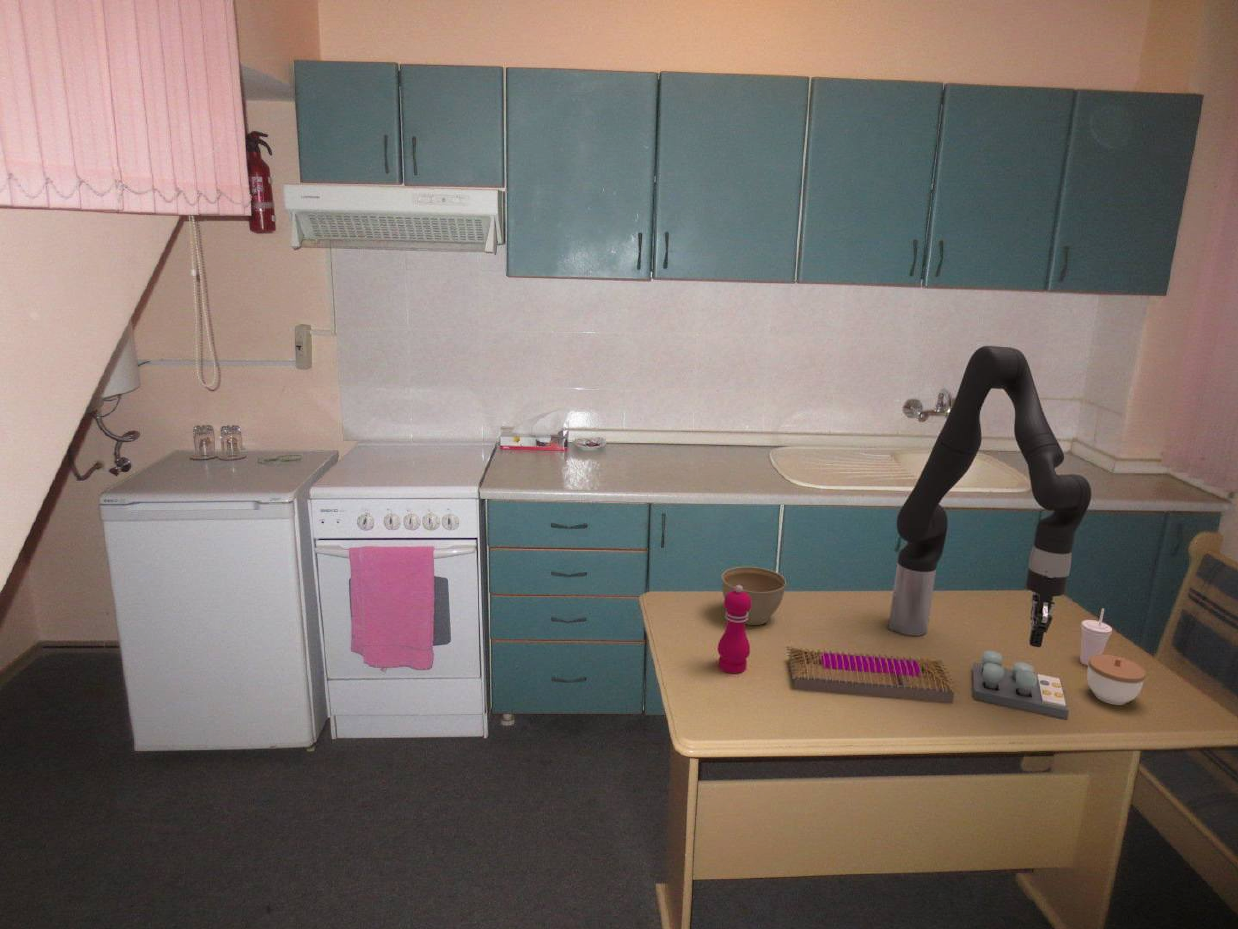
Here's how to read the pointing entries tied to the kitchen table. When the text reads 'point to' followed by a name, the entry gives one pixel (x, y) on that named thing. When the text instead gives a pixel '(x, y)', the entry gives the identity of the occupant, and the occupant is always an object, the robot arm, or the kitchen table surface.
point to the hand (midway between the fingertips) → (1034, 645)
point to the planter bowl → (756, 590)
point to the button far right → (1021, 668)
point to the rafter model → (872, 666)
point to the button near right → (1025, 682)
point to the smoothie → (1093, 638)
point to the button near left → (992, 675)
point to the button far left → (991, 658)
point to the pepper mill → (735, 632)
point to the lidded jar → (1114, 678)
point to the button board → (1041, 699)
